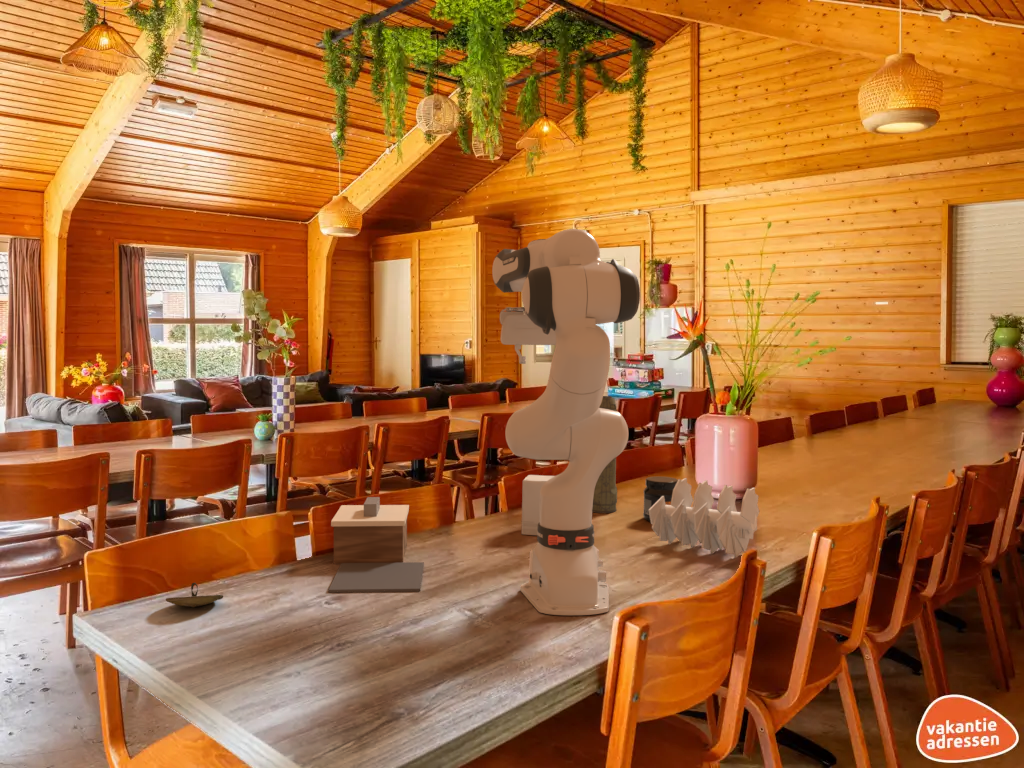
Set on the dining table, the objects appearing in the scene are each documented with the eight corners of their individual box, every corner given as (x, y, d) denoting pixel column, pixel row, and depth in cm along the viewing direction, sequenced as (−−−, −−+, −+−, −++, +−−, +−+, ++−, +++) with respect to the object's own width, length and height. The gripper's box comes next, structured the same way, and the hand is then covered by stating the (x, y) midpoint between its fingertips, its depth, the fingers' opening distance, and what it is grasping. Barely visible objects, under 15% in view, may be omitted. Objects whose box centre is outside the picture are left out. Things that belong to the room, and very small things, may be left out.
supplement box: (553, 537, 213) (554, 481, 212) (520, 535, 214) (521, 480, 213) (558, 528, 221) (559, 475, 220) (527, 527, 223) (527, 474, 222)
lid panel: (404, 530, 187) (404, 508, 186) (331, 531, 185) (331, 508, 185) (408, 514, 203) (409, 493, 203) (341, 514, 202) (341, 493, 202)
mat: (420, 591, 167) (420, 588, 167) (328, 592, 166) (328, 589, 166) (423, 564, 186) (423, 562, 186) (341, 565, 185) (341, 563, 185)
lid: (162, 620, 150) (161, 594, 149) (169, 602, 159) (168, 578, 159) (221, 615, 153) (221, 589, 152) (225, 598, 162) (224, 574, 162)
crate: (402, 563, 188) (402, 525, 187) (333, 563, 186) (333, 525, 186) (406, 544, 203) (406, 510, 203) (343, 545, 202) (343, 510, 202)
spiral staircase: (669, 553, 213) (761, 566, 197) (640, 537, 200) (736, 549, 184) (681, 487, 218) (771, 495, 203) (653, 467, 205) (747, 474, 190)
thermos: (612, 515, 238) (614, 398, 236) (578, 509, 245) (580, 396, 243) (626, 510, 245) (628, 396, 243) (593, 504, 252) (595, 394, 250)
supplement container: (686, 522, 231) (687, 481, 230) (655, 525, 227) (656, 483, 226) (666, 514, 240) (667, 475, 239) (636, 517, 236) (637, 477, 236)
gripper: (500, 306, 192) (499, 363, 192) (584, 307, 193) (583, 364, 194) (499, 307, 198) (498, 362, 199) (580, 308, 199) (579, 363, 200)
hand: (541, 363), depth 196 cm, fingers open, 8 cm apart
